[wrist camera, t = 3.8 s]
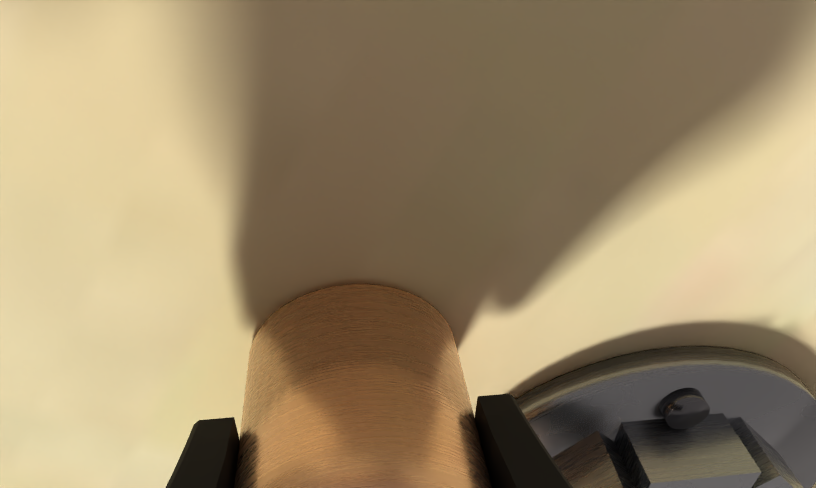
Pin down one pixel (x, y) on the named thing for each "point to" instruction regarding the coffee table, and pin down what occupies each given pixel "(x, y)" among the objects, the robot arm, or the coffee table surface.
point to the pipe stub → (357, 397)
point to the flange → (678, 421)
